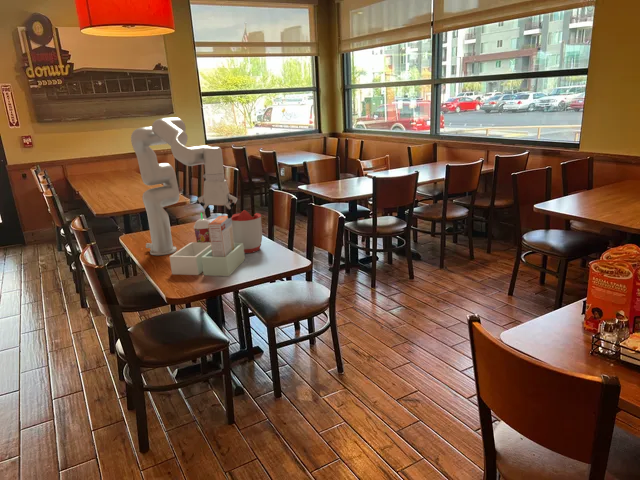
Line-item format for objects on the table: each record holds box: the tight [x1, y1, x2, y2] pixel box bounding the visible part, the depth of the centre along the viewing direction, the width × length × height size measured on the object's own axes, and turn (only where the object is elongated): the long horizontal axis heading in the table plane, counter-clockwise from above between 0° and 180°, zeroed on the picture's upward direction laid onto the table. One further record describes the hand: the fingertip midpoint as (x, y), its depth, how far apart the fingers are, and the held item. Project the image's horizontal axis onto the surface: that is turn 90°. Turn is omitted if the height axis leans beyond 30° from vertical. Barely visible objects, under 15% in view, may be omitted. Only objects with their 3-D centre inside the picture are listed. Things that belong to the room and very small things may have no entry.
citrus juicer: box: [231, 209, 263, 254], centre depth 224 cm, size 16×17×20 cm
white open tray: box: [168, 241, 212, 276], centre depth 206 cm, size 12×20×8 cm, turn 169°
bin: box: [202, 243, 246, 277], centre depth 203 cm, size 11×20×8 cm, turn 169°
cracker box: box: [208, 215, 235, 257], centre depth 200 cm, size 14×6×21 cm, turn 173°
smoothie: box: [193, 212, 211, 243], centre depth 222 cm, size 8×8×20 cm
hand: (219, 217), depth 198 cm, fingers open, 9 cm apart
